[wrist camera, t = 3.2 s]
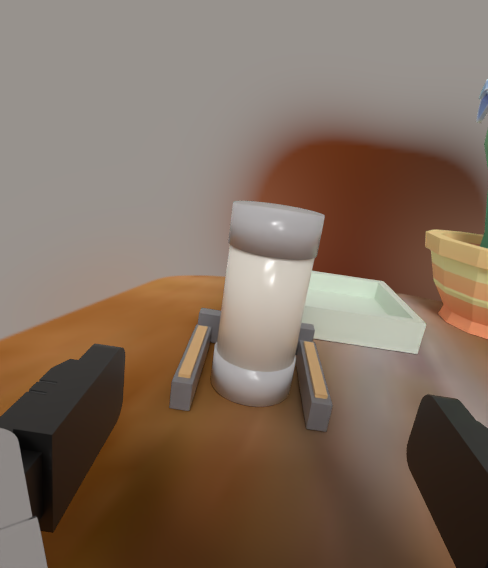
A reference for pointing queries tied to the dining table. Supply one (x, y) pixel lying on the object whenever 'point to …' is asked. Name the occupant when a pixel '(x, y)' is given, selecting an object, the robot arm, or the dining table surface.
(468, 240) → the potted cactus
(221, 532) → the dining table surface
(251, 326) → the fuse
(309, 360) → the grey u-shaped bracket
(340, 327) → the parts tray
